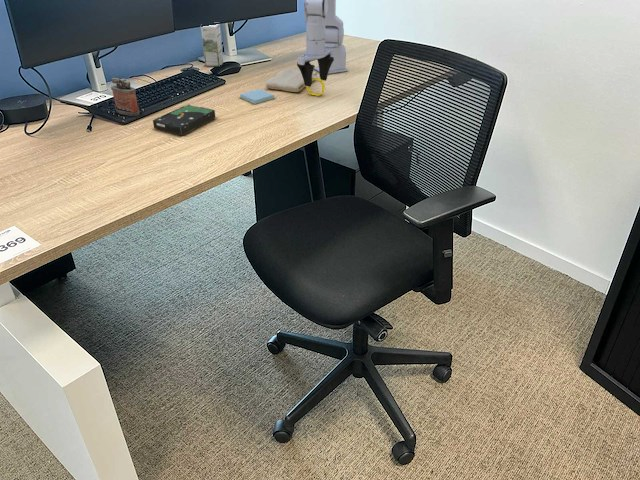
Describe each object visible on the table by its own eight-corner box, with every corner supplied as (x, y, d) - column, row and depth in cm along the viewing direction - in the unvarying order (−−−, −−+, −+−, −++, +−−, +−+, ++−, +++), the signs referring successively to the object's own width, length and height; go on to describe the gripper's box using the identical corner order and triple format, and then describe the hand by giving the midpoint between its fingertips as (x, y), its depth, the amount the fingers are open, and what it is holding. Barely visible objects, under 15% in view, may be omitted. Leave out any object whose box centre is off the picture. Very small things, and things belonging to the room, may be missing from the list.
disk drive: (182, 137, 144) (216, 118, 154) (181, 127, 142) (215, 109, 153) (153, 129, 148) (188, 112, 158) (151, 120, 146) (187, 102, 157)
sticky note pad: (259, 92, 173) (259, 88, 173) (274, 98, 169) (273, 94, 168) (240, 97, 169) (240, 94, 168) (254, 104, 164) (254, 100, 164)
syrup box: (223, 62, 201) (220, 22, 193) (219, 67, 196) (215, 25, 188) (209, 62, 201) (204, 21, 193) (204, 66, 196) (199, 25, 188)
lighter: (142, 112, 158) (136, 79, 152) (134, 116, 155) (128, 82, 149) (121, 108, 160) (114, 75, 155) (113, 112, 158) (106, 78, 152)
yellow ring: (305, 95, 171) (304, 76, 168) (308, 92, 173) (308, 74, 170) (322, 97, 169) (322, 79, 166) (325, 95, 172) (325, 76, 168)
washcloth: (318, 78, 186) (318, 69, 184) (298, 94, 172) (298, 84, 170) (287, 74, 189) (286, 65, 188) (265, 89, 175) (265, 80, 174)
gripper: (320, 32, 168) (320, 74, 176) (289, 40, 159) (291, 85, 167) (338, 35, 165) (337, 79, 172) (307, 44, 155) (308, 90, 163)
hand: (315, 82), depth 169 cm, fingers open, 7 cm apart
